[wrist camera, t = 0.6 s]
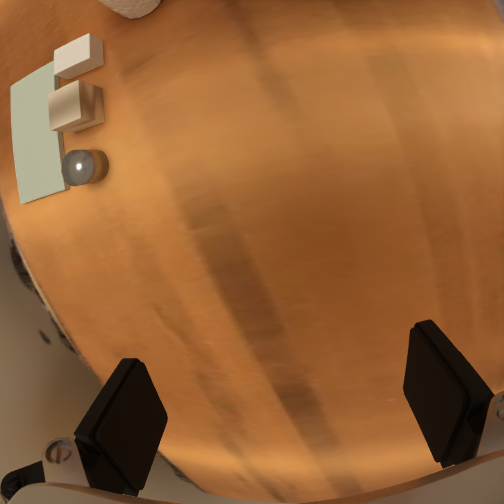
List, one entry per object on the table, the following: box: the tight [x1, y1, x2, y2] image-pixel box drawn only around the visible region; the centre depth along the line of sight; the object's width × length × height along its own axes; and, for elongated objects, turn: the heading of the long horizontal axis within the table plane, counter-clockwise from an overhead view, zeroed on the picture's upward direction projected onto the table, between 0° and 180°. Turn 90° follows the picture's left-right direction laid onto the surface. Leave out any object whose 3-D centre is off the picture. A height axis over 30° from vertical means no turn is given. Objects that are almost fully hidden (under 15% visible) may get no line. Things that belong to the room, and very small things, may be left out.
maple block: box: [48, 80, 105, 133], centre depth 31 cm, size 5×5×6 cm
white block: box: [54, 33, 104, 80], centre depth 30 cm, size 4×6×4 cm, turn 98°
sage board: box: [11, 61, 70, 204], centre depth 34 cm, size 20×10×1 cm, turn 8°
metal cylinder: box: [61, 150, 109, 186], centre depth 33 cm, size 4×4×5 cm
